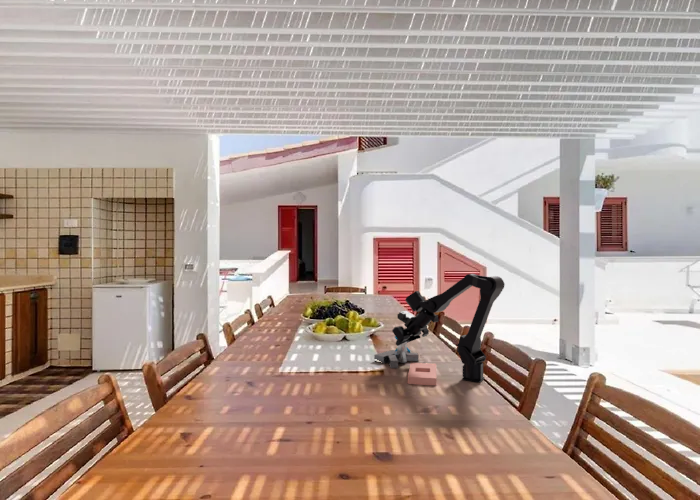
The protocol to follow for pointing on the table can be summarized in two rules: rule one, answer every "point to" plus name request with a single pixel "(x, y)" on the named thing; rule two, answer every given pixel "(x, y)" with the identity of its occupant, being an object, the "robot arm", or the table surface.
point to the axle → (402, 352)
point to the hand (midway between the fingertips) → (399, 343)
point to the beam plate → (422, 374)
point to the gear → (407, 347)
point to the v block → (394, 358)
